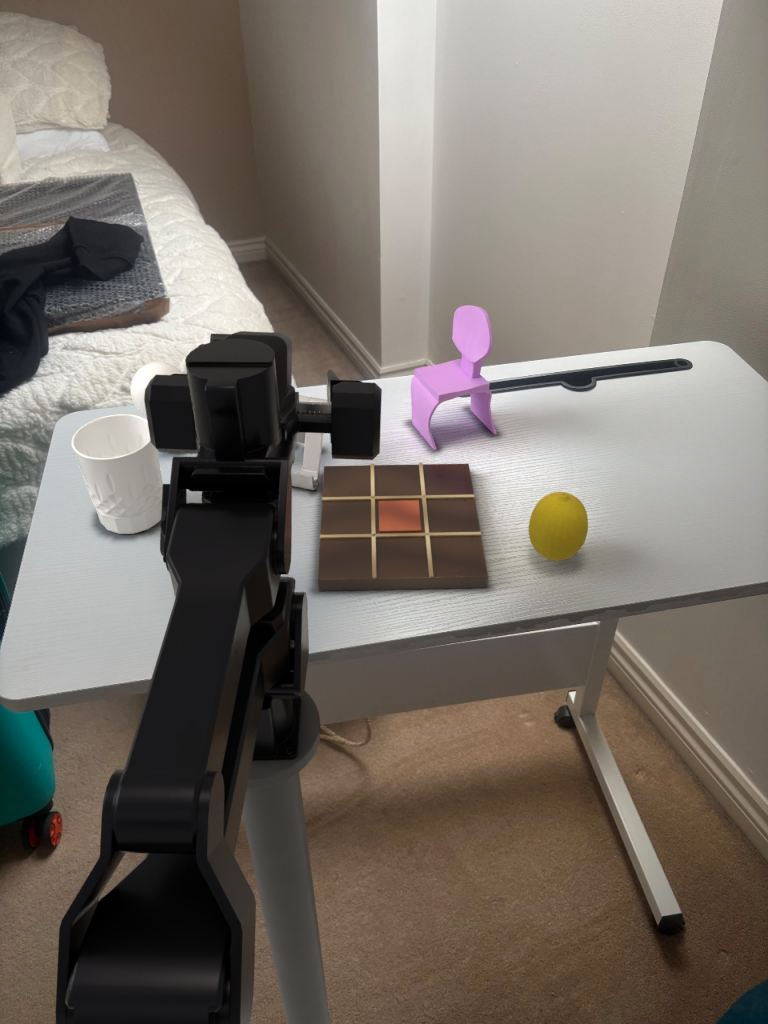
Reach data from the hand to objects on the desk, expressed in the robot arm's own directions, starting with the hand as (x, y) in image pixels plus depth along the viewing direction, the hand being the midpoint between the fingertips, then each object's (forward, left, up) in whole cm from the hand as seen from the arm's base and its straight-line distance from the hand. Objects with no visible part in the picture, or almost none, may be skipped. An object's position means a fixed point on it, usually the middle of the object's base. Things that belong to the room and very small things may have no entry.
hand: (278, 372), depth 74 cm
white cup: (+3, +17, -18) cm, 25 cm away
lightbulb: (+15, +15, -18) cm, 28 cm away
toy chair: (+18, -18, -18) cm, 31 cm away
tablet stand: (+11, +1, -18) cm, 21 cm away
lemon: (-5, -26, -18) cm, 32 cm away
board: (0, -11, -18) cm, 21 cm away
